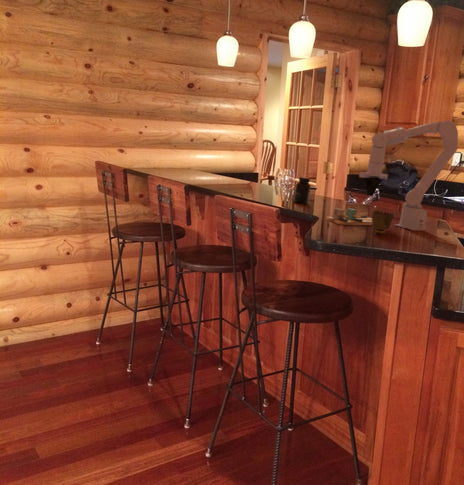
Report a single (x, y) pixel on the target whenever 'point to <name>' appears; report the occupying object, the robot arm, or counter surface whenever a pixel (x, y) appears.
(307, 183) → the supplement bottle
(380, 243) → the counter surface
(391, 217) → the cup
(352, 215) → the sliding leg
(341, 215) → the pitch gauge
